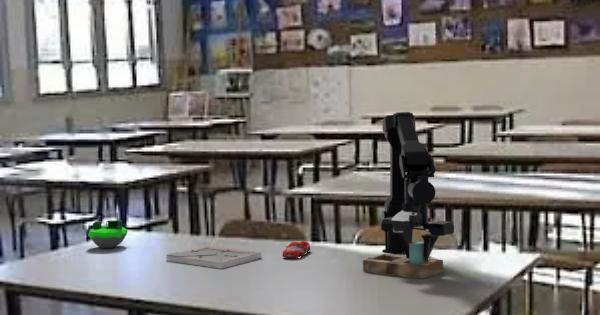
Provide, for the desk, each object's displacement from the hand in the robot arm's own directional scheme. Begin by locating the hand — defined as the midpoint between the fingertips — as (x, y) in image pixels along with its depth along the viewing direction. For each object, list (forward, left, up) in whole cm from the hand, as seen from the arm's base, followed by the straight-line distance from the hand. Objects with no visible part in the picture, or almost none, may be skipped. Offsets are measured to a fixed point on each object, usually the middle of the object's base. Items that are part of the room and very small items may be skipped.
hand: (417, 259), depth 242 cm
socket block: (-4, 0, -4) cm, 6 cm away
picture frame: (-60, -13, -4) cm, 61 cm away
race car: (-43, +3, -4) cm, 43 cm away
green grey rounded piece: (-102, -16, -4) cm, 104 cm away
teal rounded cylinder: (0, 0, -4) cm, 4 cm away
